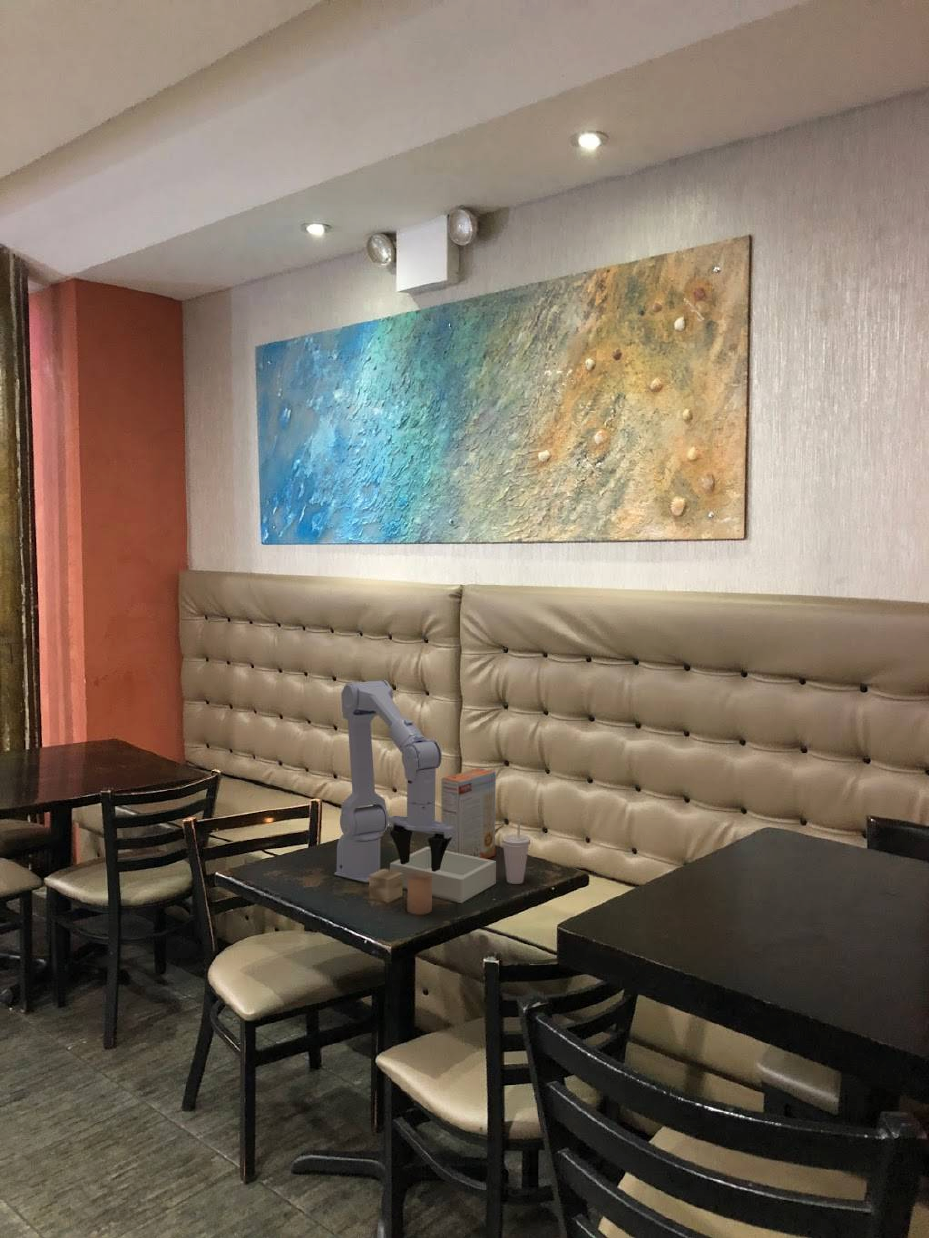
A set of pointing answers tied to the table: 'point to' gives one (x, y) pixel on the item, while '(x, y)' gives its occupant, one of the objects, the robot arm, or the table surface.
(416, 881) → the cylinder
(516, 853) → the smoothie
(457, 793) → the cracker box
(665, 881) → the table surface
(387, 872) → the cube
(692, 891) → the table surface
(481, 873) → the tote
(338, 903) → the table surface
